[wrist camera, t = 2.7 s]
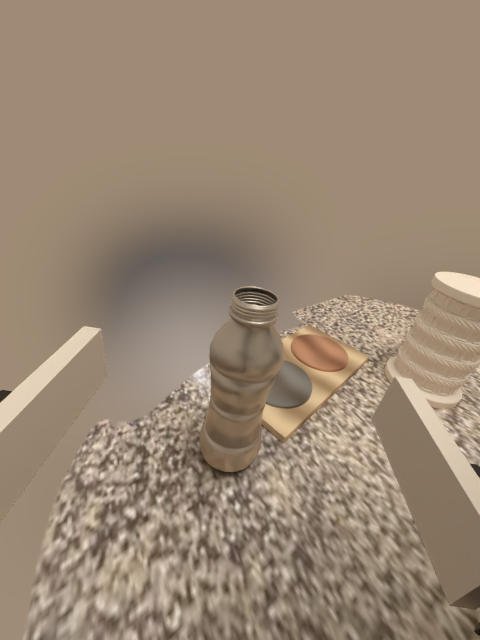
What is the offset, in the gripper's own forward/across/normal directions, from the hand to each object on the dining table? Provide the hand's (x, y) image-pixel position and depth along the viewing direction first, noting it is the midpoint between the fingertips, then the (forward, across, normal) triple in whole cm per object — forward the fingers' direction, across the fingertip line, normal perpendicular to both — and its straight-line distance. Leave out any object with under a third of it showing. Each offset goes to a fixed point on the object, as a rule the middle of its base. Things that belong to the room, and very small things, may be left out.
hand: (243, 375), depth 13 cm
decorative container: (+28, +32, -20) cm, 47 cm away
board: (+27, +10, -20) cm, 35 cm away
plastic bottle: (+10, +1, -21) cm, 23 cm away
